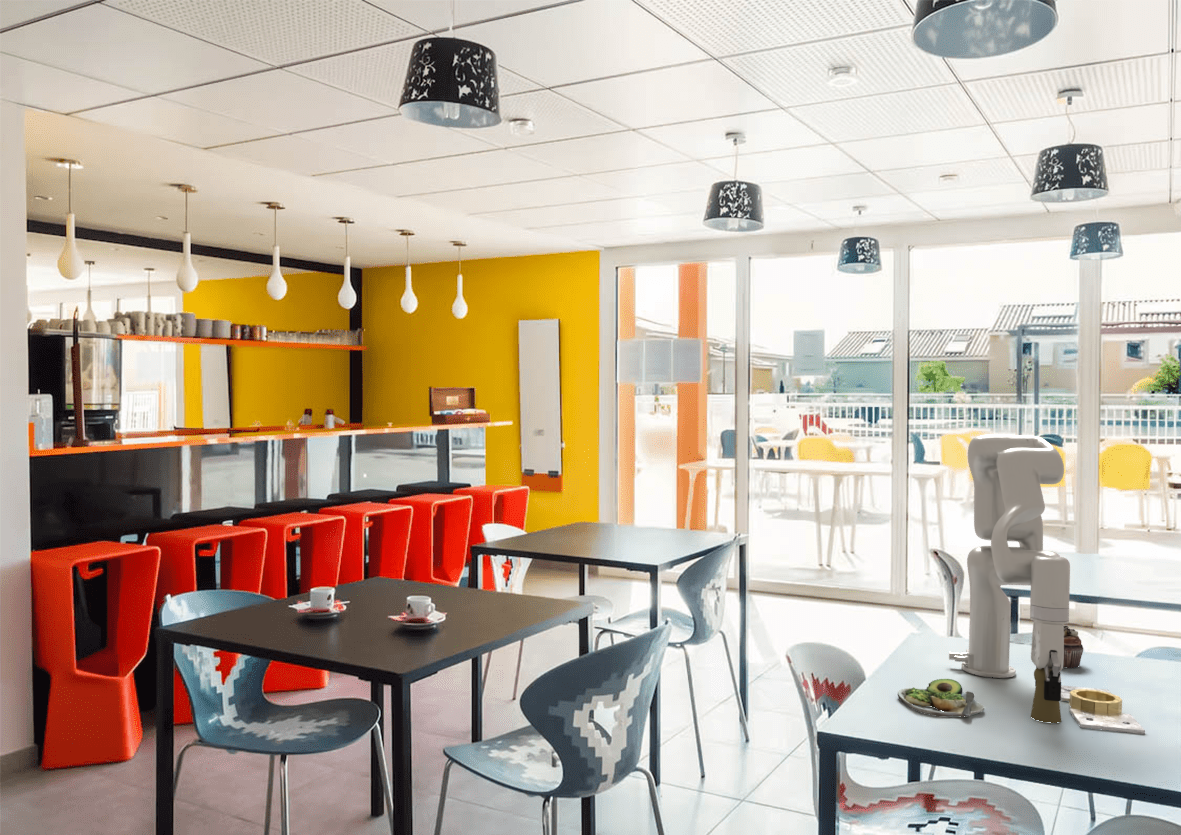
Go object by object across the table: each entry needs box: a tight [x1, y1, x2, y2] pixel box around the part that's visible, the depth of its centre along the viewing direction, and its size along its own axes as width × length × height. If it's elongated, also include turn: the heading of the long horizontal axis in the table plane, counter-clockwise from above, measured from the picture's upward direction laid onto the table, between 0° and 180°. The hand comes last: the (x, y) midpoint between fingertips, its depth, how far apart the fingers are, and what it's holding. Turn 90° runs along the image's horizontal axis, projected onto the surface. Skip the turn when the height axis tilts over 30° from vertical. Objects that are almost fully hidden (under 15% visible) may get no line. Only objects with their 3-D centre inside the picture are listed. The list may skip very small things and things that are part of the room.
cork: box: [1030, 667, 1062, 724], centre depth 207 cm, size 6×6×11 cm
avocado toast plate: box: [897, 678, 985, 718], centre depth 214 cm, size 19×18×5 cm
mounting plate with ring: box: [1061, 684, 1146, 735], centre depth 215 cm, size 12×30×3 cm, turn 165°
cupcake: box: [1063, 625, 1084, 669], centre depth 253 cm, size 10×10×10 cm
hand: (1047, 694), depth 207 cm, fingers open, 9 cm apart
